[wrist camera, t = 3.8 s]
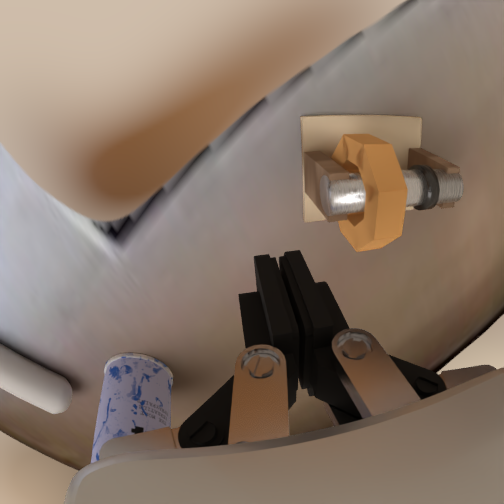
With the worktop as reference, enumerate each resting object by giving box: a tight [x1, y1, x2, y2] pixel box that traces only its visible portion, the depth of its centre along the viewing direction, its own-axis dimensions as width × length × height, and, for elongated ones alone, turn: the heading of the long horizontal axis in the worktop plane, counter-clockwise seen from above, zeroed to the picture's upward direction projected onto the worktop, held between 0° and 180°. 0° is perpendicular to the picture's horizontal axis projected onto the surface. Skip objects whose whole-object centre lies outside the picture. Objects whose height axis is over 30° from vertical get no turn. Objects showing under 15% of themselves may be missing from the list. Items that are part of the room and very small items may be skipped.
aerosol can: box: [91, 353, 173, 463], centre depth 23 cm, size 8×8×20 cm
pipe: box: [320, 165, 463, 216], centre depth 18 cm, size 3×10×3 cm, turn 95°
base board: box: [300, 115, 460, 223], centre depth 20 cm, size 8×10×6 cm
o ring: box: [332, 134, 408, 252], centre depth 18 cm, size 7×2×7 cm, turn 5°
